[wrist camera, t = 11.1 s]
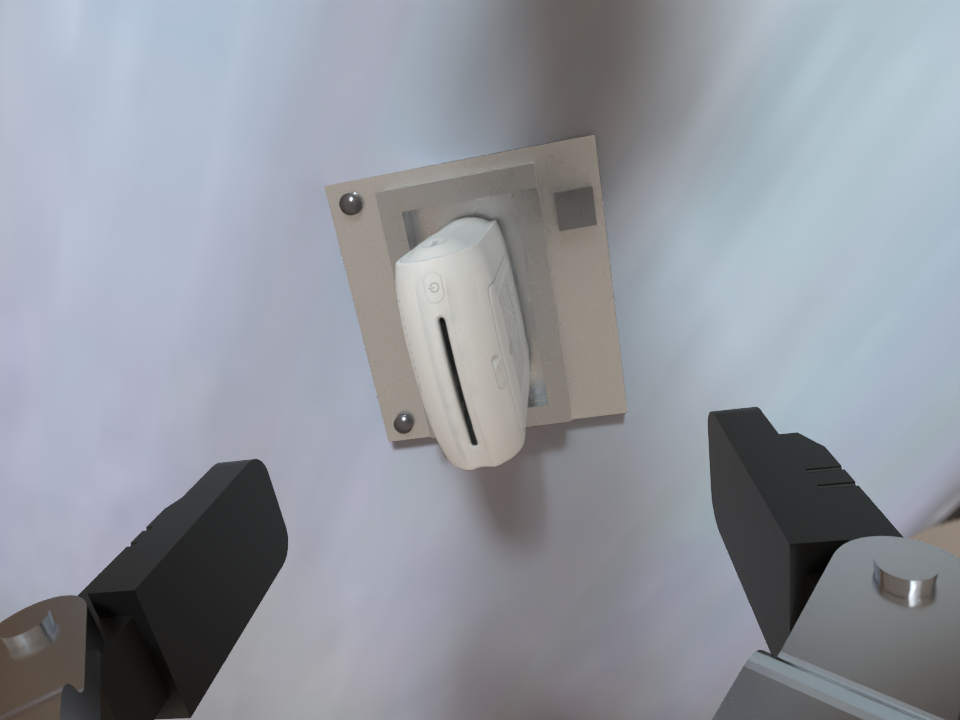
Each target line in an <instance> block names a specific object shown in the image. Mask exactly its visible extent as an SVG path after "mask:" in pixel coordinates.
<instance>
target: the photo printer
mask: <svg viewBox="0 0 960 720" xmlns="http://www.w3.org/2000/svg"><path fill="white" fill-rule="evenodd" d="M395 283H396V294H397V300H398V306H399V312H400V317H401V322H402V327H403V331H404V336H405V340H406V345H407V349H408V353H409V357H410V360H411V364H412V368H413V372H414V375H415V379H416V382H417V385H418V389H419V392H420V395H421V398H422V401H423V405H424V408H425V411H426V413H427V416H428V419H429V422H430V424H431V427H432V430H433V432H434V434H435V437H436V439H437V441H438V443H439V445H440V447H441V449H442V451H443V452H444V454H445V455H446V457H447V458H448V460H449V461H450V462H451V463H452V465H454V466H456V467H458V468H460V469H464V470H473V469H476V468H479V467H496V466H498V465H501V464H503V463H504V462H506V461H508V460H510V459H511V458H512V457H514V456H515V455H516V454H517V453H518V452H519V451H520V450H521V449H522V447H523V445H524V441H525V431H526V419H527V407H528V396H529V385H530V371H531V367H530V354H529V348H528V342H527V337H526V331H525V326H524V321H523V316H522V311H521V306H520V302H519V297H518V293H517V288H516V283H515V279H514V275H513V271H512V266H511V262H510V258H509V255H508V251H507V246H506V243H505V240H504V237H503V234H502V232H501V229H500V227H499V225H498V223H497V221H496V220H493V221H488V220H486V219H484V218H481V217H477V216H466V217H461V218H459V219H456V220H454V221H453V222H451V223H450V224H448V225H447V226H446V227H444V228H443V229H442V230H440V231H439V232H437V233H435V234H433V235H432V236H430V237H429V238H427V239H426V240H425V241H423V242H422V243H421V244H419V245H418V246H416V247H415V248H414V249H412V250H411V251H410V252H408V253H407V254H406V255H404V256H403V257H402V258H401V259H399V260H398V261H397V262H396V267H395Z"/></svg>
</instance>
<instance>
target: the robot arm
mask: <svg viewBox="0 0 960 720" xmlns="http://www.w3.org/2000/svg"><path fill="white" fill-rule="evenodd" d="M708 437H709V457H710V476H711V494H712V503H713V509H714V514H715V519H716V523H717V526H718V529H719V532H720V534H721V537H722V539H723V542H724V544H725V546H726V549H727V551H728V553H729V556H730V558H731V560H732V563H733V565H734V567H735V570H736V572H737V574H738V577H739V579H740V582H741V584H742V586H743V589H744V591H745V593H746V596H747V598H748V600H749V603H750V605H751V607H752V610H753V612H754V614H755V617H756V619H757V622H758V624H759V626H760V629H761V631H762V633H763V636H764V638H765V640H766V643H767V645H768V647H769V650H770V652H771V654H770V653H768V652H765V651H763V650H758V651H756V652H755V653H753V654H752V655H751V656H750V658H749V659H748V660H747V662H746V663H745V665H744V666H743V668H742V670H741V671H740V673H739V675H738V676H737V678H736V680H735V682H734V683H733V685H732V687H731V688H730V690H729V692H728V693H727V695H726V697H725V698H724V700H723V702H722V704H721V705H720V707H719V709H718V710H717V712H716V714H715V715H714V717H713V719H712V720H960V559H959V558H958V557H956V556H954V555H953V554H951V553H948V552H947V551H945V550H943V549H940V548H938V547H935V546H933V545H930V544H927V543H924V542H920V541H917V540H912V539H908V538H903V536H902V535H901V534H900V533H899V532H898V531H897V529H896V528H895V527H894V526H893V525H892V524H891V523H890V521H889V520H888V519H887V518H886V517H885V516H884V514H883V513H882V512H881V511H880V510H879V509H878V508H877V506H876V505H875V504H874V503H873V502H872V501H871V500H870V498H869V497H868V496H867V495H866V494H865V493H864V491H863V490H862V489H861V488H860V487H859V486H856V485H855V481H854V480H853V479H852V478H851V476H850V475H849V474H848V473H847V472H846V471H845V470H842V468H841V465H840V464H839V463H838V462H837V460H836V459H835V458H834V457H833V456H832V455H831V453H830V452H829V451H828V450H827V449H826V448H825V447H824V446H822V445H820V444H818V443H816V442H814V441H812V440H810V439H809V438H807V437H805V436H803V435H801V434H799V433H789V434H778V433H777V431H776V430H775V429H774V427H773V426H772V425H771V423H770V422H769V421H768V419H767V418H766V417H765V415H764V414H763V413H762V411H761V410H760V409H759V408H758V407H750V408H741V409H731V410H722V411H712V412H710V413H709V416H708ZM146 528H147V530H146V531H142V532H141V533H140V534H139V535H138V536H137V537H136V538H135V539H134V540H133V541H132V542H131V547H126V548H125V549H124V550H123V551H122V552H121V553H120V554H119V555H118V556H117V557H116V558H115V559H114V560H113V561H112V562H111V563H110V564H109V565H108V566H107V567H106V568H105V569H104V570H103V571H102V572H101V573H100V574H99V575H98V576H97V577H96V578H95V579H94V580H93V581H92V582H91V583H90V584H89V585H88V586H87V587H86V588H85V589H84V590H83V591H82V592H81V593H80V594H79V595H78V596H71V595H68V596H59V597H55V598H51V599H47V600H44V601H41V602H39V603H36V604H33V605H31V606H29V607H27V608H25V609H23V610H21V611H19V612H17V613H15V614H13V615H12V616H10V617H8V618H7V619H5V620H4V621H2V622H1V623H0V720H154V719H176V718H191V716H192V715H193V713H194V711H195V710H196V708H197V706H198V705H199V703H200V701H201V700H202V698H203V697H204V695H205V693H206V692H207V690H208V688H209V687H210V685H211V683H212V682H213V680H214V678H215V677H216V675H217V673H218V672H219V670H220V668H221V667H222V665H223V663H224V662H225V660H226V659H227V657H228V655H229V654H230V652H231V650H232V649H233V647H234V645H235V644H236V642H237V640H238V639H239V637H240V635H241V634H242V632H243V630H244V629H245V627H246V625H247V624H248V622H249V620H250V619H251V617H252V616H253V614H254V612H255V611H256V609H257V607H258V606H259V604H260V602H261V601H262V599H263V597H264V596H265V594H266V592H267V591H268V589H269V587H270V586H271V584H272V582H273V581H274V579H275V577H276V576H277V574H278V573H279V571H280V569H281V568H282V566H283V564H284V562H285V559H286V556H287V550H288V535H287V530H286V526H285V523H284V520H283V517H282V514H281V511H280V508H279V504H278V501H277V498H276V495H275V492H274V489H273V486H272V483H271V480H270V477H269V474H268V471H267V468H266V467H265V465H264V464H263V463H262V462H261V461H260V460H258V459H252V460H242V461H233V462H223V463H217V464H215V465H214V466H213V467H212V468H211V469H210V470H209V471H208V472H207V473H206V474H205V475H204V476H203V477H202V478H201V479H200V480H199V481H198V482H197V483H196V484H195V485H194V486H193V487H192V488H191V489H190V490H189V491H188V492H187V493H186V494H185V495H184V496H183V497H182V498H181V499H179V500H178V501H176V502H175V503H173V504H172V505H170V506H168V507H167V508H165V509H164V510H163V511H162V512H161V513H160V514H159V515H158V516H157V517H156V518H155V519H154V520H153V521H152V522H151V523H150V524H149V525H148V526H147V527H146Z"/></svg>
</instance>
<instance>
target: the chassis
mask: <svg viewBox="0 0 960 720" xmlns="http://www.w3.org/2000/svg"><path fill="white" fill-rule="evenodd" d="M325 190H326V194H327V198H328V202H329V206H330V210H331V214H332V218H333V222H334V226H335V230H336V234H337V238H338V242H339V245H340V249H341V253H342V257H343V261H344V265H345V269H346V273H347V277H348V281H349V285H350V289H351V293H352V297H353V301H354V305H355V309H356V313H357V317H358V321H359V325H360V329H361V333H362V337H363V341H364V345H365V349H366V353H367V357H368V361H369V364H370V368H371V372H372V376H373V380H374V384H375V388H376V392H377V396H378V400H379V404H380V408H381V412H382V416H383V420H384V424H385V428H386V432H387V436H388V440H389V442H391V441H399V440H407V439H416V438H424V437H431V439H432V438H436V437H435V434H434V432H433V430H432V427H431V424H430V422H429V419H428V416H427V413H426V411H425V408H424V405H423V401H422V398H421V395H420V392H419V389H418V385H417V382H416V379H415V375H414V372H413V368H412V364H411V360H410V357H409V353H408V349H407V345H406V340H405V336H404V331H403V327H402V322H401V317H400V312H399V306H398V300H397V294H396V283H395V267H396V262H397V261H398V260H399V259H401V258H402V257H403V256H404V255H406V254H407V253H408V252H410V251H411V250H412V249H414V248H415V247H416V246H418V245H419V244H421V243H422V242H423V241H425V240H426V239H427V238H429V237H430V236H432V235H433V234H435V233H437V232H439V231H440V230H442V229H443V228H444V227H446V226H447V225H448V224H450V223H451V222H453V221H454V220H456V219H459V218H461V217H466V216H477V217H481V218H484V219H486V220H488V221H493V220H496V221H497V223H498V225H499V227H500V229H501V232H502V234H503V237H504V240H505V243H506V246H507V251H508V255H509V258H510V262H511V266H512V271H513V275H514V279H515V283H516V288H517V293H518V297H519V302H520V306H521V311H522V316H523V321H524V326H525V331H526V337H527V342H528V348H529V354H530V367H531V371H530V385H529V396H528V407H527V419H526V427H531V426H539V425H547V424H555V423H564V422H572V419H580V418H588V417H596V416H605V415H613V414H621V413H627V406H626V398H625V389H624V380H623V372H622V363H621V355H620V346H619V337H618V329H617V320H616V312H615V303H614V294H613V286H612V277H611V268H610V260H609V251H608V243H607V234H606V225H605V217H604V208H603V200H602V191H601V182H600V174H599V165H598V157H597V148H596V139H595V134H594V135H589V136H584V137H578V138H573V139H568V140H563V141H558V142H552V143H547V144H542V145H537V146H531V147H526V148H521V149H516V150H511V151H505V152H500V153H495V154H490V155H484V156H479V157H474V158H469V159H464V160H458V161H453V162H448V163H443V164H437V165H432V166H427V167H422V168H417V169H411V170H406V171H401V172H396V173H390V174H385V175H380V176H375V177H370V178H364V179H359V180H354V181H349V182H343V183H338V184H333V185H328V186H325Z"/></svg>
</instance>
